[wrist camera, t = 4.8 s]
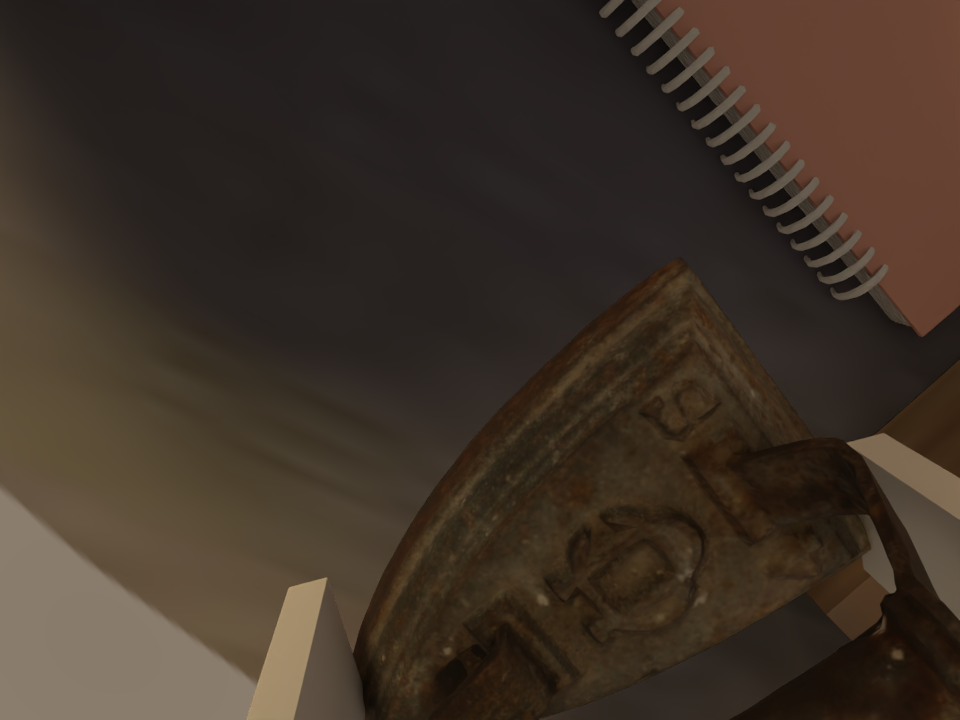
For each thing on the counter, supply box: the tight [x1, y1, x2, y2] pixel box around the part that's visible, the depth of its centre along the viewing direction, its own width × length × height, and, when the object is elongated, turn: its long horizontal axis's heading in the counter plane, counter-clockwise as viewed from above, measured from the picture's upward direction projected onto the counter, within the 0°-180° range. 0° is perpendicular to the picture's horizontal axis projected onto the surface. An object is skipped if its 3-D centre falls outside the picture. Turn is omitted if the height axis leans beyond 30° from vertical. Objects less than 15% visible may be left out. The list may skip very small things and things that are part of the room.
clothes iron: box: [353, 257, 960, 720], centre depth 13 cm, size 7×11×10 cm, turn 129°
